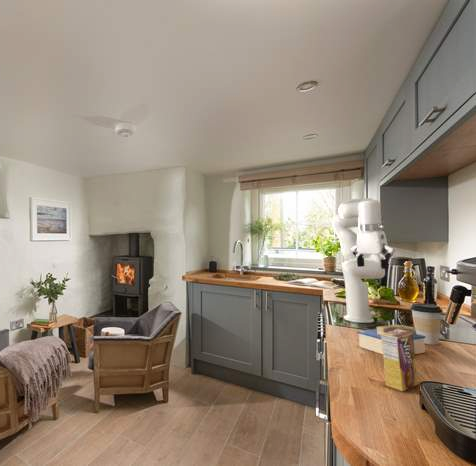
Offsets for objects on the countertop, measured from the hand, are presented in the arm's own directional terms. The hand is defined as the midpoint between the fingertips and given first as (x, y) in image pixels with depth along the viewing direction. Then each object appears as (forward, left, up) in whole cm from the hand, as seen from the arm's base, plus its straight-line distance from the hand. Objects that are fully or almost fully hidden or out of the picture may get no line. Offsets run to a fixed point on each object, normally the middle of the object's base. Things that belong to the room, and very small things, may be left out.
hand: (372, 267), depth 127 cm
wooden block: (+7, +11, -24) cm, 28 cm away
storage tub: (+9, +11, -31) cm, 34 cm away
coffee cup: (-13, +10, -31) cm, 35 cm away
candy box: (+37, +32, -31) cm, 58 cm away
